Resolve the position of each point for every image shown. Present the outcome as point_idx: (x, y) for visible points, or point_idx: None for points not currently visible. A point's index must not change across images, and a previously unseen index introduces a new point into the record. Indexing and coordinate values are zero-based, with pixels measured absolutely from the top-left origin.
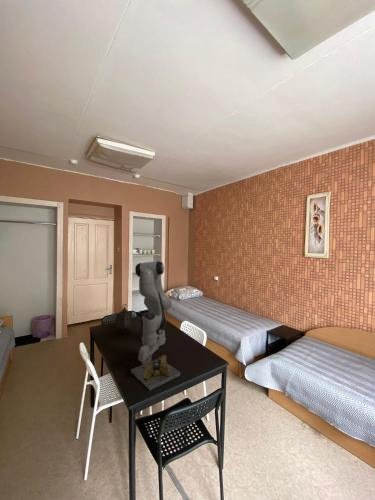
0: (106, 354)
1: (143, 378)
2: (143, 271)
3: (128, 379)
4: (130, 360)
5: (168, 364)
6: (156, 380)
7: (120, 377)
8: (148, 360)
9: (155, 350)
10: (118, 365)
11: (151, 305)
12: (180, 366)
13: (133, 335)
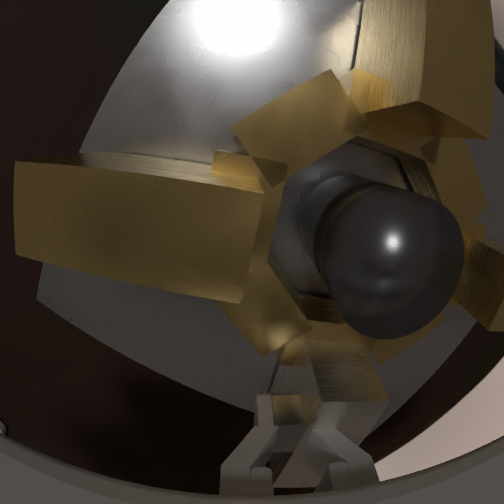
0: None
1: None
2: None
3: (435, 385)
4: (196, 475)
5: (108, 107)
6: (499, 139)
7: (411, 429)
8: (365, 422)
9: (95, 487)
10: (283, 491)
11: None
12: (72, 7)
13: None
